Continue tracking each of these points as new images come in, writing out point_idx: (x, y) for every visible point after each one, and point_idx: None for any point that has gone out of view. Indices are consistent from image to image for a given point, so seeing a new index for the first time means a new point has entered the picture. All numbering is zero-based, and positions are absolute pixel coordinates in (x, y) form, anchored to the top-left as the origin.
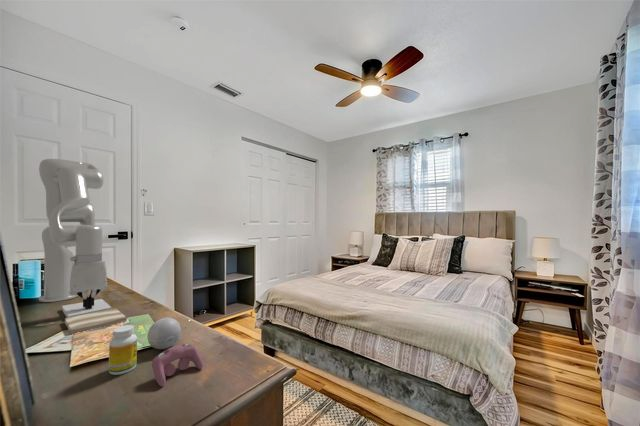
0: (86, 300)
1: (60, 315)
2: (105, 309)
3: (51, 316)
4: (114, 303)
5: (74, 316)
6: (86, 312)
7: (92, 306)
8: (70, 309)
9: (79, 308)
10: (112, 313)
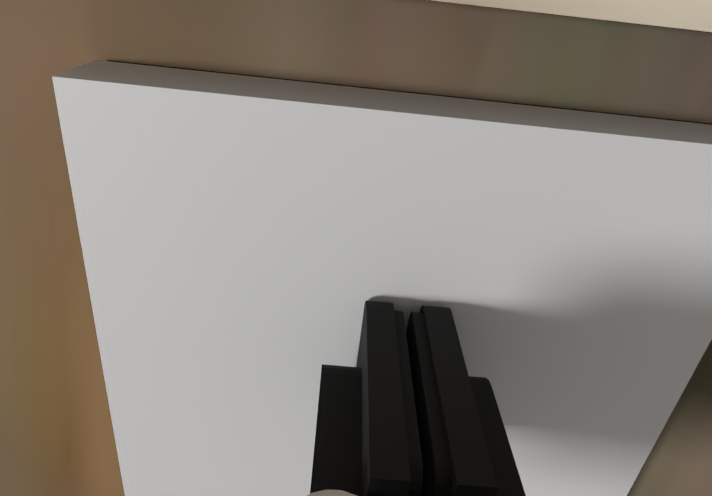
0: (483, 463)
1: None
2: (179, 84)
3: (697, 486)
4: (34, 462)
5: (699, 133)
6: (518, 129)
7: None
8: (567, 487)
9: None
10: None
